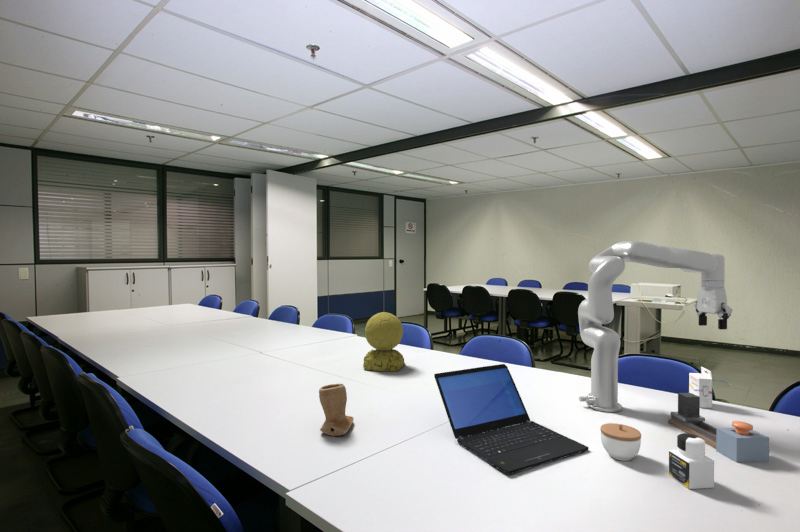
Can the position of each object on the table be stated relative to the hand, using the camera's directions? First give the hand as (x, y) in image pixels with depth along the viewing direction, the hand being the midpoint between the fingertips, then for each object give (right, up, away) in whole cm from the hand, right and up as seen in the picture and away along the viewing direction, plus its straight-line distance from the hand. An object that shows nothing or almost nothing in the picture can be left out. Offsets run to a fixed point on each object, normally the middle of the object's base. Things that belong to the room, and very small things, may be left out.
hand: (712, 327), depth 166 cm
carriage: (-26, -30, -23) cm, 45 cm away
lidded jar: (-60, -32, -43) cm, 81 cm away
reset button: (-24, -26, -44) cm, 56 cm away
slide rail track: (-25, -32, -29) cm, 50 cm away
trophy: (-135, -31, +61) cm, 151 cm away
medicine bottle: (-49, -32, -58) cm, 83 cm away
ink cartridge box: (-5, -31, 0) cm, 32 cm away
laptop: (-91, -33, -31) cm, 102 cm away
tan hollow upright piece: (-149, -32, -23) cm, 154 cm away
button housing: (-24, -32, -44) cm, 59 cm away
